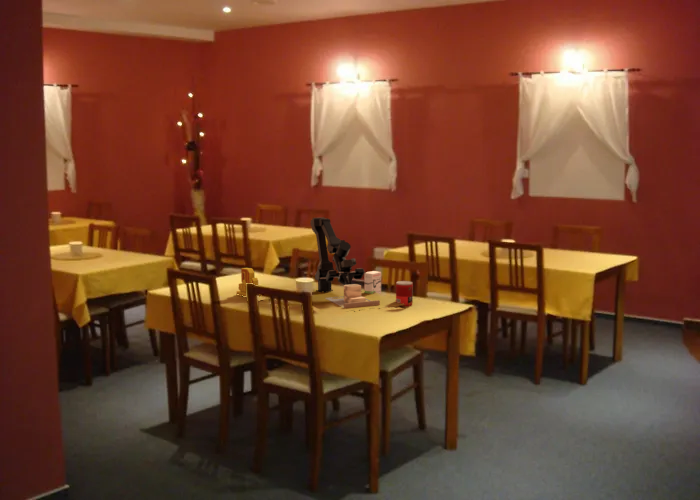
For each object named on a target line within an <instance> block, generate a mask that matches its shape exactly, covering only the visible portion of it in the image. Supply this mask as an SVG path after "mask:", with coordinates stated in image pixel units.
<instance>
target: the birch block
mask: <svg viewBox="0 0 700 500" xmlns="http://www.w3.org/2000/svg"><path fill="white" fill-rule="evenodd" d="M343 296H344V297H343V298H344V302H346V303H354V302H365V301H367V300H366V299H367V298H366V297H365V296H362V285H360V284H358V283H353V284H352V283H351V285H344V284H343Z"/></svg>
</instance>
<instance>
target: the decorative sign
mask: <svg viewBox="0 0 700 500" xmlns="http://www.w3.org/2000/svg"><path fill="white" fill-rule="evenodd" d="M240 275H241V276H240V278H241V283H238V286H237V287H238V290H237V291H236V292H235V293H236V295H237V294H239V295H243V296H246V283H253V284H255V285H258V286H259V280H258V277H255V271H254V269H253V268H251V267H242V268H240ZM259 297H260V296H259Z"/></svg>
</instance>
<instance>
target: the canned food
mask: <svg viewBox="0 0 700 500" xmlns="http://www.w3.org/2000/svg"><path fill="white" fill-rule="evenodd" d="M413 288H414V285H413V281H411V280H410V281H409V280H400V281H399V280H398V281H396V282H395V303H396V304H400V307H403V306H406V307H412V305H413V303H414V302H413V295H414V292H413V291H414V290H413ZM401 304H402V305H401Z"/></svg>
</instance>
